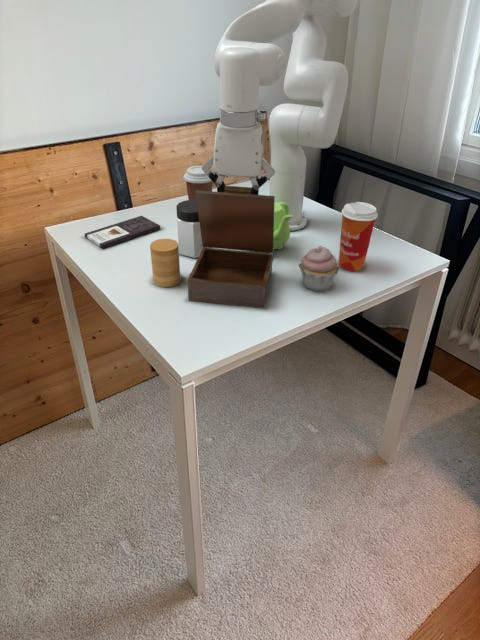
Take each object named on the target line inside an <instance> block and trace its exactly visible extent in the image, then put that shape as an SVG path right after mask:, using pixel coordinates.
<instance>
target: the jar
mask: <svg viewBox="0 0 480 640" xmlns="http://www.w3.org/2000/svg"><path fill="white" fill-rule="evenodd" d="M175 208H176V217H177V218H176V226H177V242H178V248H179V255H181V256H185V257H188V258H189V257H190V258H192V259H196V258H197V259H198V257H199V255H200V253H201V251H202V249H203V248H209V247H203V246H202V238H201V230H200V223H199V215H198V208H197V200H188V199H186V200H183V201H180V202H178V203H177V204H176V206H175Z"/></svg>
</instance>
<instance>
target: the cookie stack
mask: <svg viewBox="0 0 480 640" xmlns="http://www.w3.org/2000/svg"><path fill="white" fill-rule="evenodd" d="M149 249H150V250H149V251H150V261H151V271H152V278H153V280H152V282H153V284H154V285H155V286H157V287H161V288H172V287H174V286H177V285H178V284H179V283H181V267H180V254H179V243H178V240H175V239H171V238H159V239H156V240H153V241H152V242H151V243H150V244H149Z"/></svg>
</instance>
